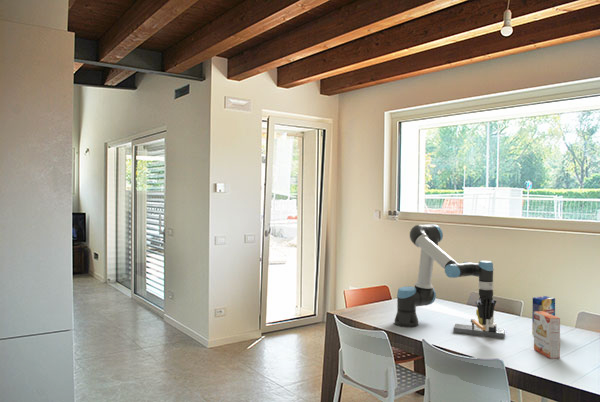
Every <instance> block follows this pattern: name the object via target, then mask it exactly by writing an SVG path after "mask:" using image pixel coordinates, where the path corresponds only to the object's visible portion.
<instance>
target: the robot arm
mask: <svg viewBox="0 0 600 402" xmlns="http://www.w3.org/2000/svg"><path fill="white" fill-rule="evenodd" d="M443 236H444V233H443V230H442V229H441V226H440V225H437V224H433V223H430V224H428V223H427V224H416V225H414V226H413V227H412V228H411V229H410V231H409V239H410V241H411V243H412V244H413V245H414V246H415V247H417V248H420V257H419V264H418V275H417V281H416V282H415V284H414V286H402V287H399V288H398V290H397V294H396V296H397V297H396V299H397V300H396V301H397V303H396V305H397V306H396V307H397V311H396V314H395V318H394V325H396V324H397V325H396V326H398V325H399V327H403V326H404V327H405V328H406V327H407V328H413V327H415V328H416V327H418V326H419V318H418V315H417V312H416V311H417V307H423V306H429V305H432V304H433V303H434V302H435V301H436V297H437V293H436V291H435V288H434V286H433V284H432V278H433V270H434V261H435V262H436V263H437V264H438V265H439V266H440V267H442V269H444V273H445V275H446V277H447V278H450V279H452V278H453V279H456V278H463V277H477V278H478V296H479V298H478V300H477V301H475V305H476V308H477V309H478V313H479V317H480V318H482V324H483V326H484V327H485V331H489V319H491V318H492V317H493V312H494V313H495V307H496V303H497V300H495V299H494V297H493V296H494V270H495V269H494V263H493V262H492V261H490V260H480V261H479V262H478V263H477V262H476V263H475V262H471V261H464V262H462V263H458V261H456V260H455V259H453V258H452V257H451V256H450V255H449V254H447V253H446V252H445V251H444V250H443V249H442V248H441V247H439V246H438V245H439V243H440V242H441V241H443Z"/></svg>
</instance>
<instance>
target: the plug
mask: <svg viewBox="0 0 600 402" xmlns="http://www.w3.org/2000/svg"><path fill="white" fill-rule="evenodd" d="M494 315H495V311H494V312H493V317H492V318H491V319H489V327H493V328H494V327H495V324H496V321H494V317H495V316H494Z"/></svg>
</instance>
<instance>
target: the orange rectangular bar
mask: <svg viewBox="0 0 600 402" xmlns="http://www.w3.org/2000/svg"><path fill="white" fill-rule="evenodd" d="M470 323H471V325H472V329H474V326H477V327H479V328H480V329H481V330H485V327H484V326H482V325H481V324H480V323H479V321H477V320H476V319H475V318H471V319H470Z"/></svg>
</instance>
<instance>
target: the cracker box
mask: <svg viewBox="0 0 600 402" xmlns="http://www.w3.org/2000/svg"><path fill="white" fill-rule="evenodd" d="M533 349H534V351H536V352H538V353H539V354H541V355H542V356H545V357H547V359H550V360H551V359H560V358H561V318H560V317H558V316H556V315H555V316H554V315H551V314H549V313H546V312H544V311H535V312H534V335H533Z"/></svg>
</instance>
